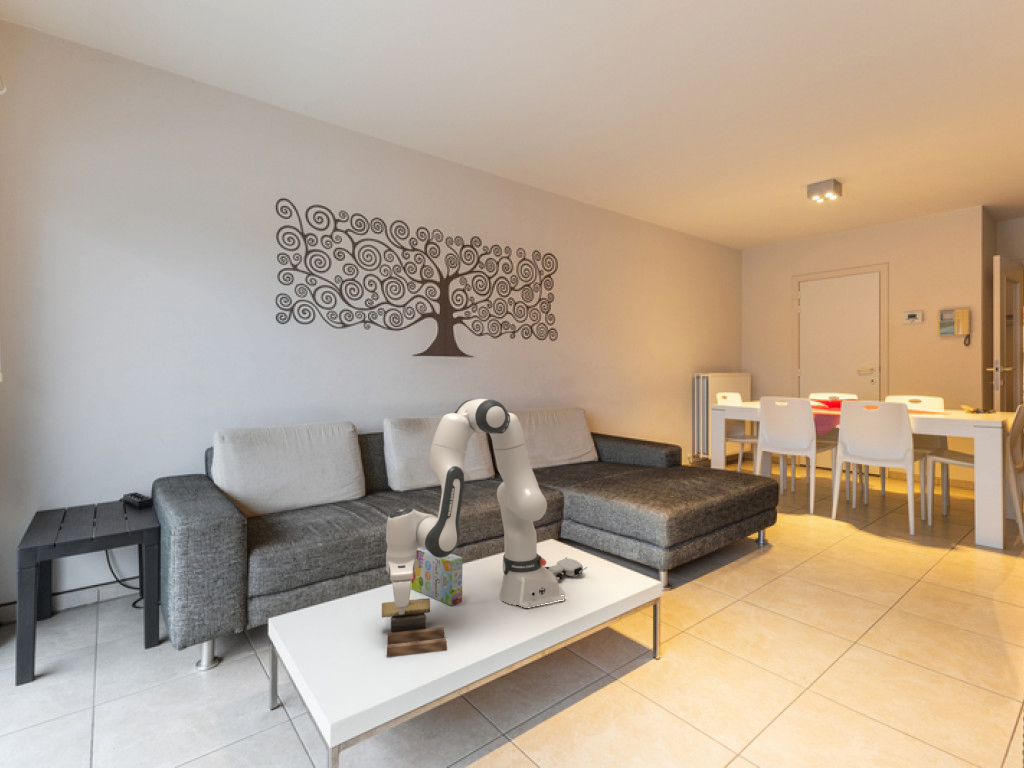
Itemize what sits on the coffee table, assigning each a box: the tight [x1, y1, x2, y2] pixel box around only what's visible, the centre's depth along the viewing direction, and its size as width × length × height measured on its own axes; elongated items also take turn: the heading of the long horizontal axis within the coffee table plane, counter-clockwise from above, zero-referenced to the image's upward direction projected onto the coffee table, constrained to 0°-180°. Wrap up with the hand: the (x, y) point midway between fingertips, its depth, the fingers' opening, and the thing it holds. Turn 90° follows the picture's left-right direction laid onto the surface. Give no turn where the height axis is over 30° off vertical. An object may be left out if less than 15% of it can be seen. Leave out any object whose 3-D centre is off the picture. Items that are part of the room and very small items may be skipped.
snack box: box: [410, 547, 464, 606], centre depth 175 cm, size 21×6×15 cm, turn 50°
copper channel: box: [386, 626, 448, 658], centre depth 142 cm, size 16×8×2 cm, turn 103°
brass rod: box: [381, 597, 431, 618], centre depth 151 cm, size 14×4×4 cm, turn 103°
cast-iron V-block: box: [390, 613, 427, 633], centre depth 151 cm, size 10×8×5 cm
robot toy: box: [544, 556, 588, 581], centre depth 192 cm, size 12×4×15 cm
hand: (401, 609), depth 151 cm, fingers closed on brass rod, 4 cm apart
